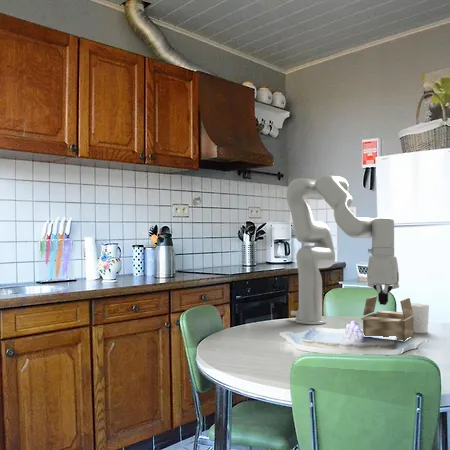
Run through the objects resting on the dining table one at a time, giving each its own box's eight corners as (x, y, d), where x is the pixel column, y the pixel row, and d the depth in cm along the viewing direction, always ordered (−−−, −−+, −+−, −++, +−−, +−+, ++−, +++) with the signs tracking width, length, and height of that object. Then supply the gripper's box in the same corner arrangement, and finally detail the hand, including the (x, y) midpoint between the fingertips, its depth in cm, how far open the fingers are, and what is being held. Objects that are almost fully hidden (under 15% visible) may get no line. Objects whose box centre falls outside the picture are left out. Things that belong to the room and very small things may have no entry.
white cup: (431, 334, 172) (431, 306, 173) (408, 333, 174) (408, 305, 174) (426, 330, 180) (426, 303, 180) (404, 329, 182) (404, 303, 182)
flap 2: (404, 319, 158) (400, 301, 159) (412, 315, 167) (408, 298, 168) (405, 318, 158) (401, 301, 159) (413, 314, 167) (409, 297, 168)
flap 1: (363, 315, 166) (366, 298, 166) (372, 311, 175) (375, 295, 175) (364, 315, 166) (367, 298, 165) (374, 311, 175) (377, 296, 174)
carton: (358, 339, 161) (358, 317, 161) (377, 330, 179) (377, 310, 180) (400, 344, 153) (400, 321, 154) (416, 334, 171) (416, 313, 172)
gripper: (358, 252, 169) (358, 303, 169) (402, 253, 161) (402, 307, 160) (365, 251, 176) (365, 301, 175) (407, 252, 167) (407, 304, 167)
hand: (383, 304), depth 168 cm, fingers closed
